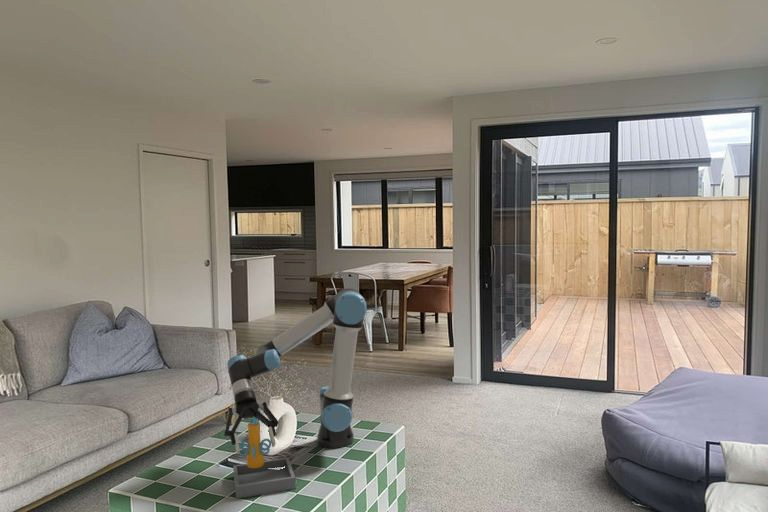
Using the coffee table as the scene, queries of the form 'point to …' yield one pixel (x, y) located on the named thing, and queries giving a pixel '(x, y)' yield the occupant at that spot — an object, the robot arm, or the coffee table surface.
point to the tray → (263, 478)
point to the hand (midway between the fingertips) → (256, 448)
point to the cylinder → (254, 446)
